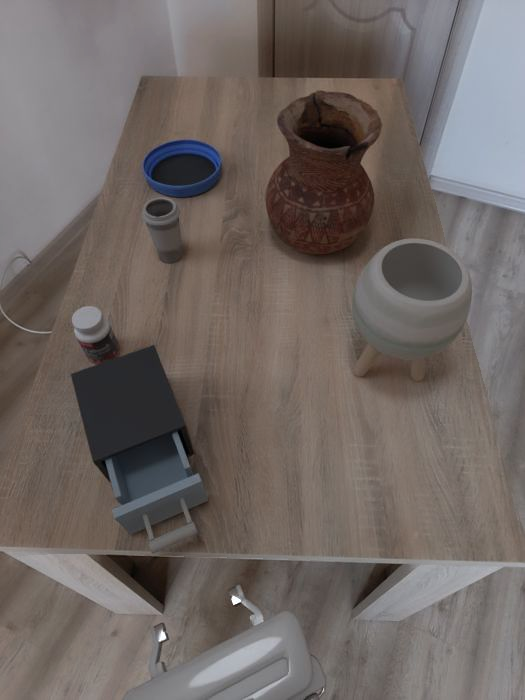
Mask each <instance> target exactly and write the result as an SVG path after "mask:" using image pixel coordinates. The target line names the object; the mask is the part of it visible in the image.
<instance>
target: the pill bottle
mask: <svg viewBox="0 0 525 700" xmlns="http://www.w3.org/2000/svg"><path fill="white" fill-rule="evenodd" d="M71 323H72V325H73V333H74V336H75V338H76V340H77V342H78V344H79V346H80V347H81V349H82V352H83V353H84V354H85V357H86V359H88V361H89V362H90V363H92V364H95V365H98V364H100V363H103V362H106V361H109V360H112V359H115V358H118V355H119V353H120V344H119V342H118V339H117V337H116V335H115V333H114V330H113V328H112V326H111V323H110V321H109V320H108V318H107V317H105V316H104V314H103V313H102V311H101V309H99V308H98V307H97V306H93V305H87V306H86V305H85V306H82V307H80V308H78V309H77V310H76V311H75V312H74V313H73V315H72V317H71Z"/></svg>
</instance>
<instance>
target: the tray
mask: <svg viewBox="0 0 525 700" xmlns="http://www.w3.org/2000/svg"><path fill="white" fill-rule="evenodd" d="M105 462H106V466H107V470H108V473H109V477H110V481H111V483H110V485H111V489H112V492H113V495H114V498H115V500H116V501H117V502H118V503H119V504H120V505H119V506H116V507H115V508H112V509H111V511H112V516H113V519H114V520H115V521H116V522H117V523H118V524H119V525H120V526H121V527H122V528H123V529H124V530H125V531H126V532H127V534H129V535H133V534H135V533H138V532H140V531H143V530H144V529H145V530H146V533H147V536H148V539H149V541H148V542H147V543H148V547H149V551H150V553H151V554H152V555H154V554H156V553H158V552H160V551H163V550H165V549H167V548H170V547H172V546H174V545H176V544H178V543H182V541H185V540H187V539H189V538H191V537H194V536H196V535H198V534H199V532H198V529H197V526H196V524H195V521H193V520H192V517H191V514H190V511H189V510H190V509H193V508H195V507H197V506H199V505H201V504H204V503H206V502H208V501H209V498H208V495H207V492H206V490H205V486H204V484H203V481H202V477H201V475H200V473H199V472H198V473H195V474H194V472H193V470H192V468H191V465H190V464H191V463H190V462H189V459H188V457H187V456H186V454H185V451H184V448H183V445H182V443H181V440H180V437H179V435H178V432H177V431H176V432H174V433H171V434H169V435H166V436H164V437H161V438H159V439H156V440H154V441H151V442H149V443H146V444H144V445H141V446H139V447H136V448H134V449H131V450H128V451H126V452H123V453H121V454H118V455H116V456H113V457H111V458H108V459H106V460H105ZM180 513H183V514H184V517H185V520H186V523H187V524H185V525H182V526H179V527H177V528H175V529H173V530H171V531H169V532H167V533H164V534H162V535H159V536H158V537H155V535H154V532H153V527H152V526H154V525H156V524H158V523H161V522H163V521H165V520H168V519H169V518H172V517H174V516H177V515H178V514H180Z"/></svg>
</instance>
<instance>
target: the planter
mask: <svg viewBox="0 0 525 700" xmlns="http://www.w3.org/2000/svg"><path fill="white" fill-rule="evenodd" d="M472 298H473V284H472V277H471V274H470V271H469V269H468V267H467V264H466V263H465V261H464V260H463V259H462V258H461V256H460V255H458V254H457V252H455V251H454V250H453V249H451V248H449V247H448V246H446V245H444V244H441V243H439V242H437V241H433V240H429V239H425V238H403V239H399V240H395V241H392V242H389V244H387V245H385V246H384V247H382V248H381V249H380V250H379V251H377V252H376V253H375V254H374V255H373V256H372V258H370V260H369V261H368V262H367V263H366V265H365V266H364V267H363V269H362V271H361V273H360V274H359V276H358V278H357V281H356V284H355V287H354V290H353V293H352V299H351V312H352V318H353V322H354V325H355V327H356V329H357V331H358V333H359V334H360V336H361V337H362V338H363V340H364V341H365V342H366V343H367V344H366V346H365V348H364V349H363V351H362V353H361V355H360V356H359V358H358V359H357V361H356V363H355V365H354V367H353V368H352V369H353V371H352V372H353V374H354V375H355V376H356V377H358V378H359V377H360V378H361V377H364V376H365V375H366V374H367V373H368V371H369V370H370V368H371V367H372V366H373V364H374V363H375V362H376V360H377V359H378V357H379V356H380V355H381V354H382V355H385V356H387V357H389V358H392V359H398V360H403V361H404V360H406V361H409V368H410V377H411V379H412V380H413V381H415V382H421V381H423V379H424V378H425V370H426V358H429V357H432V356H435V355H436V354H437V355H438V354H439V353H441V352H442V351H443V350H445V349H447V348H448V347H449V346H450V345H451V344H453V342H454V341H455V340H456V339H457V337H458V336H459V335H460V333H461V331H462V330H463V328H464V326H465V324H466V322H467V320H468V318H469V317H468V316H469V313H470V310H471V307H472Z"/></svg>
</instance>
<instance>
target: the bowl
mask: <svg viewBox="0 0 525 700" xmlns="http://www.w3.org/2000/svg"><path fill="white" fill-rule="evenodd" d="M222 163H223V160H222V156H221V154H220V152H219V151H218V150H217V148H215V146H213V145H211V144H209V143H207V142H204V141H202V140H196V139H189V138H188V139H187V138H186V139H175V140H171V141H167V142H164V143H162V144H160V145H158V146H155V147H154V148H152V149H151V150H149V152H148V153H147V154H146V155H145V157H144V159H143V161H142V172H143V176H144V177H145V179H146V180H147V182H148V184H149V186H151V188H152V189H153V190H155V191H156V192H158V193H159V194H162V195H165V196H168V197H173V198H188V197H193V196H197V195H200V194H202V193H204V192H206V191H208V190H210V189H211V188H212V187H213V186H214V185H215V184H216V183H217V182H218V181H219V178H220V174H221V171H222V165H223V164H222Z"/></svg>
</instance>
